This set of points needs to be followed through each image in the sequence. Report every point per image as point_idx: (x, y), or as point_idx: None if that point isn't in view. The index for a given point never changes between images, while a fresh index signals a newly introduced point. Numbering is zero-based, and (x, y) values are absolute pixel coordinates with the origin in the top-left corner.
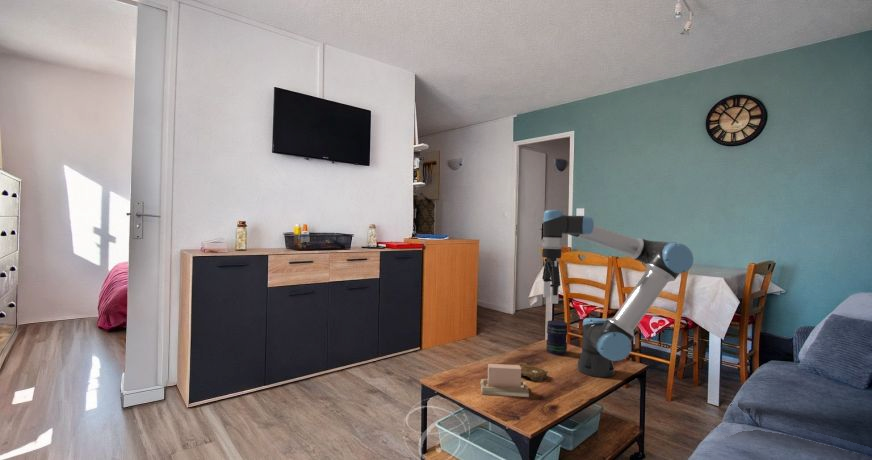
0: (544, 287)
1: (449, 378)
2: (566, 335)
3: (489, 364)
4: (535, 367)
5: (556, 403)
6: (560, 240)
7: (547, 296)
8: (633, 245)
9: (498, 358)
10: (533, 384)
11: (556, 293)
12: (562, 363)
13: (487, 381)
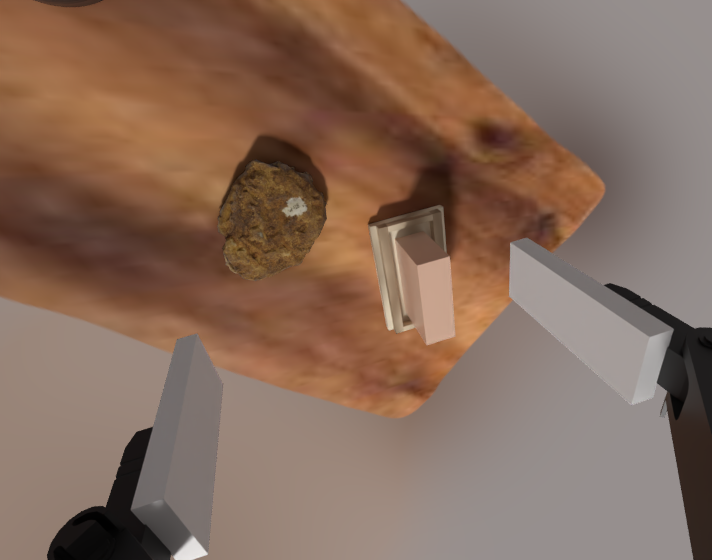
0: (209, 468)
1: (377, 389)
2: None
3: (432, 340)
4: (255, 208)
5: (465, 126)
6: None
7: (206, 359)
8: None
9: (148, 334)
10: (346, 199)
11: (632, 302)
12: (28, 84)
13: (400, 316)
